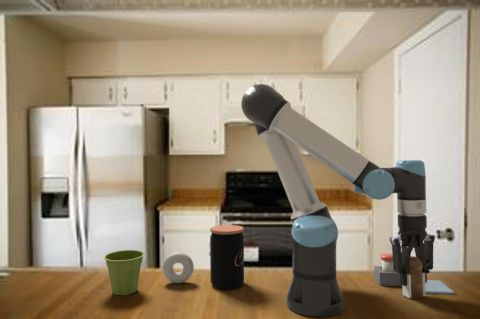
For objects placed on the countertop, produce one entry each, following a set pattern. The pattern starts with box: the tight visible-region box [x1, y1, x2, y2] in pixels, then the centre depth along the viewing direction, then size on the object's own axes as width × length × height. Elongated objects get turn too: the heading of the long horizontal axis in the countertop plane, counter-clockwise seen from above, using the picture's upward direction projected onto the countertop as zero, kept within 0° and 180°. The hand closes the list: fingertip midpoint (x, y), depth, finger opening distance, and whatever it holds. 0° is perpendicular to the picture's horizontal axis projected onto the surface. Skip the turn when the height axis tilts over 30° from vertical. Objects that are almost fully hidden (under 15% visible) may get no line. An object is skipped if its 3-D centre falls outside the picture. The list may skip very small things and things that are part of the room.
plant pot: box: [103, 249, 146, 296], centre depth 111 cm, size 12×12×11 cm
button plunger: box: [380, 253, 395, 272], centre depth 118 cm, size 4×4×7 cm
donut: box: [162, 251, 195, 284], centre depth 118 cm, size 10×4×10 cm, turn 93°
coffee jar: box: [209, 224, 245, 291], centre depth 116 cm, size 11×11×18 cm
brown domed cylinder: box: [408, 255, 424, 300], centre depth 105 cm, size 5×5×11 cm
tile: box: [425, 279, 455, 295], centre depth 112 cm, size 10×10×1 cm
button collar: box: [373, 265, 402, 287], centre depth 118 cm, size 7×7×4 cm
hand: (414, 295), depth 105 cm, fingers closed on brown domed cylinder, 4 cm apart
